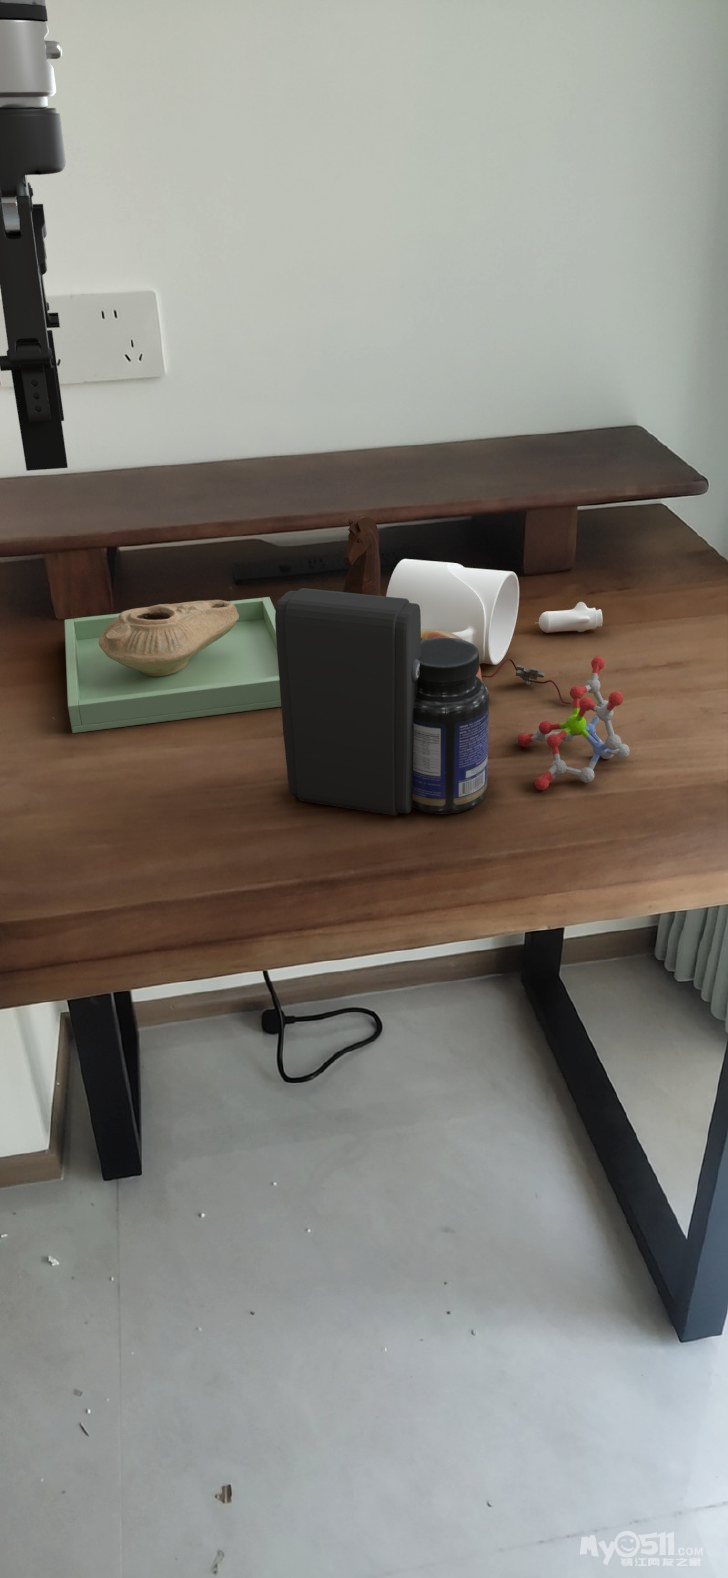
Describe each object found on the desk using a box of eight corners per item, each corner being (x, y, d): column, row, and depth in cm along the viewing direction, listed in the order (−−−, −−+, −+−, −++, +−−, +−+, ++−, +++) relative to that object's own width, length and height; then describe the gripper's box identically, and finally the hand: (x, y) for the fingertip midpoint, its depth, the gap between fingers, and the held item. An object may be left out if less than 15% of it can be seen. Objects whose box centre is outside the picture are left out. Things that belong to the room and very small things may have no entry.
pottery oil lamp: (267, 650, 102) (251, 597, 96) (149, 724, 100) (126, 675, 94) (214, 589, 106) (196, 536, 100) (100, 659, 104) (74, 609, 98)
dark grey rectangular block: (427, 794, 83) (427, 594, 75) (410, 824, 80) (409, 618, 72) (305, 776, 86) (293, 580, 78) (285, 804, 83) (270, 603, 75)
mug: (417, 626, 108) (417, 542, 104) (517, 639, 105) (521, 553, 101) (370, 681, 98) (368, 591, 94) (478, 697, 95) (481, 605, 91)
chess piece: (327, 626, 109) (322, 521, 104) (358, 608, 112) (355, 505, 107) (368, 636, 107) (365, 529, 101) (398, 617, 110) (397, 513, 105)
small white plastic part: (539, 620, 109) (545, 588, 108) (602, 636, 107) (609, 603, 106) (527, 630, 106) (534, 597, 105) (592, 647, 104) (599, 613, 103)
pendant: (479, 648, 96) (479, 663, 99) (468, 697, 95) (467, 710, 97) (577, 667, 95) (574, 681, 98) (567, 716, 94) (564, 729, 96)
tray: (72, 733, 92) (67, 706, 91) (68, 643, 107) (64, 619, 106) (306, 703, 96) (304, 676, 94) (271, 620, 110) (269, 596, 109)
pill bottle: (475, 768, 86) (479, 628, 80) (496, 812, 81) (501, 666, 75) (392, 777, 85) (390, 636, 80) (408, 822, 80) (406, 675, 74)
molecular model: (608, 735, 90) (617, 645, 86) (638, 789, 83) (649, 694, 79) (514, 740, 89) (519, 650, 86) (536, 795, 83) (543, 700, 79)
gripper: (61, 104, 65) (107, 487, 76) (56, 101, 86) (92, 401, 97) (-82, 106, 63) (-14, 496, 74) (-52, 102, 84) (-2, 407, 95)
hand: (46, 443), depth 85 cm, fingers open, 13 cm apart
